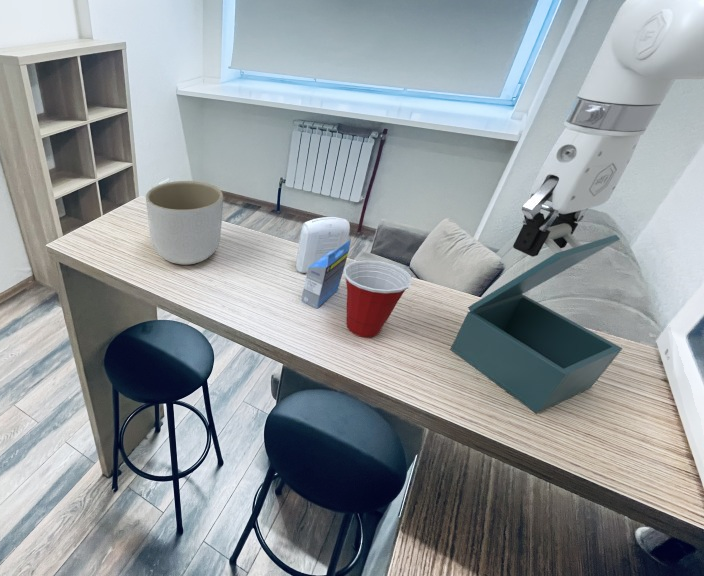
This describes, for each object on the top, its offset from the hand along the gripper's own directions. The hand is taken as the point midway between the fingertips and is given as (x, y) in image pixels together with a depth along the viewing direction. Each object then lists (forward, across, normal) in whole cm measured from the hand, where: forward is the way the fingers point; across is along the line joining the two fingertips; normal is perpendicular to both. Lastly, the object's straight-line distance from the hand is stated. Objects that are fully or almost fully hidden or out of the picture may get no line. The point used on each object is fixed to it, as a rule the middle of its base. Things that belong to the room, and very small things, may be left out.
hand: (538, 246), depth 59 cm
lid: (+4, 0, -2) cm, 5 cm away
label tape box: (+20, -17, +23) cm, 35 cm away
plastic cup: (+20, -16, +12) cm, 28 cm away
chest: (+20, 0, -6) cm, 20 cm away
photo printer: (+20, -11, +32) cm, 40 cm away
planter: (+20, -36, +50) cm, 65 cm away
